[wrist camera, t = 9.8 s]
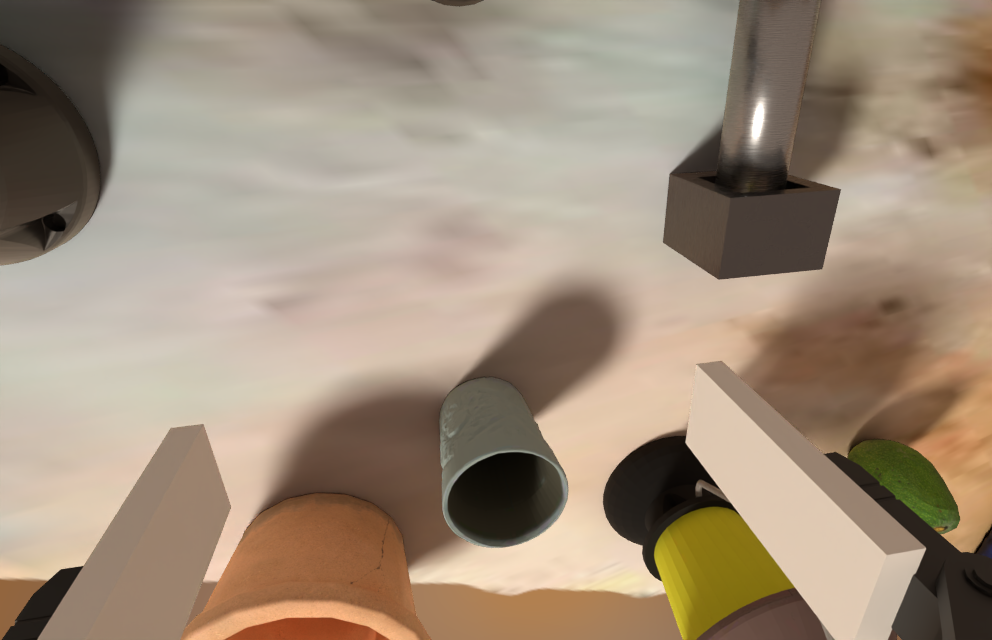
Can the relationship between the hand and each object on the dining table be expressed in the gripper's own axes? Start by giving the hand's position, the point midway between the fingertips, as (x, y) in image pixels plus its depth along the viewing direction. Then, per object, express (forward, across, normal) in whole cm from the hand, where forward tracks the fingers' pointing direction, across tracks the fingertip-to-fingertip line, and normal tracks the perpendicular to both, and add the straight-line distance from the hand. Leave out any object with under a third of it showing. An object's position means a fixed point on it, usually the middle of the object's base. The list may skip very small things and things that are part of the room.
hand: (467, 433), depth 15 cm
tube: (+29, +25, +7) cm, 39 cm away
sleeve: (+32, +25, -3) cm, 40 cm away
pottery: (+32, -14, -37) cm, 51 cm away
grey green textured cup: (+32, +4, -22) cm, 39 cm away
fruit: (+32, +48, -34) cm, 67 cm away
